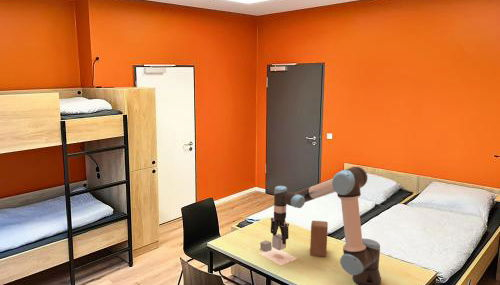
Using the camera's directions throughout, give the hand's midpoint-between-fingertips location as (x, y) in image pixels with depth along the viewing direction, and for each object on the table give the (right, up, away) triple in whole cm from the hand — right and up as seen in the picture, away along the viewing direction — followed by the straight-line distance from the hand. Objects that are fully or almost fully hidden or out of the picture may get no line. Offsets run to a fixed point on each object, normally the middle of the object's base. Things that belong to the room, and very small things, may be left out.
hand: (279, 246), depth 237 cm
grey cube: (-8, -5, +10) cm, 13 cm away
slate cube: (0, 0, 0) cm, 0 cm away
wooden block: (+25, -6, +7) cm, 27 cm away
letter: (-1, -6, +2) cm, 7 cm away
